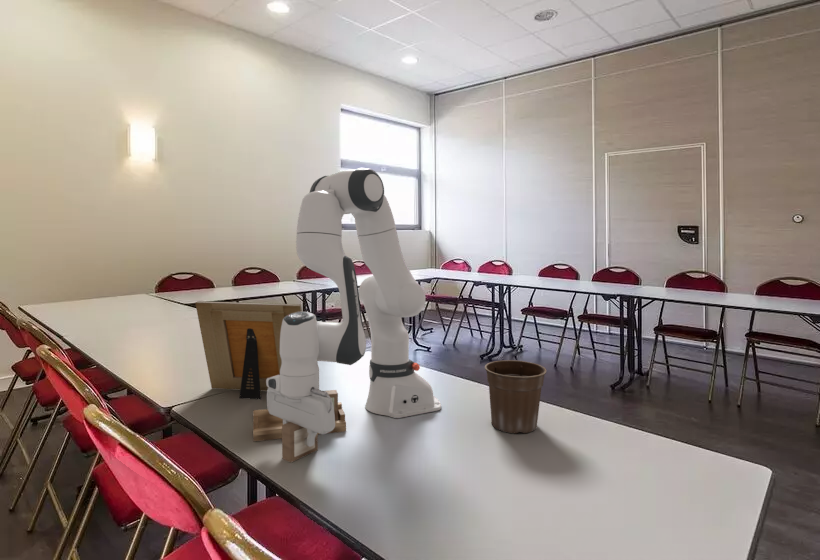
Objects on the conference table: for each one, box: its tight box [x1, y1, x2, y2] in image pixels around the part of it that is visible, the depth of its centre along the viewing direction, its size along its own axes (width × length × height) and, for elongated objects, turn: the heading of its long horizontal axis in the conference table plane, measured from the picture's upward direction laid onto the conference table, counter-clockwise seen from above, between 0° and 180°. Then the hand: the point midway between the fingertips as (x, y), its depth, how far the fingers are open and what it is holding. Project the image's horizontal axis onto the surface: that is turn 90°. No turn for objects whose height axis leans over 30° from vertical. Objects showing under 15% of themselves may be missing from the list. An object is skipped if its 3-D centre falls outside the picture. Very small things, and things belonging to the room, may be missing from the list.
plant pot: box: [484, 359, 547, 434], centre depth 131 cm, size 16×16×16 cm
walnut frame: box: [281, 422, 319, 463], centre depth 112 cm, size 8×3×8 cm, turn 142°
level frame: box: [325, 389, 339, 421], centre depth 127 cm, size 8×3×8 cm, turn 108°
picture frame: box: [194, 300, 303, 400], centre depth 151 cm, size 33×10×30 cm, turn 84°
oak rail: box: [252, 401, 347, 442], centre depth 126 cm, size 23×8×5 cm, turn 108°
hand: (300, 441), depth 112 cm, fingers open, 5 cm apart
